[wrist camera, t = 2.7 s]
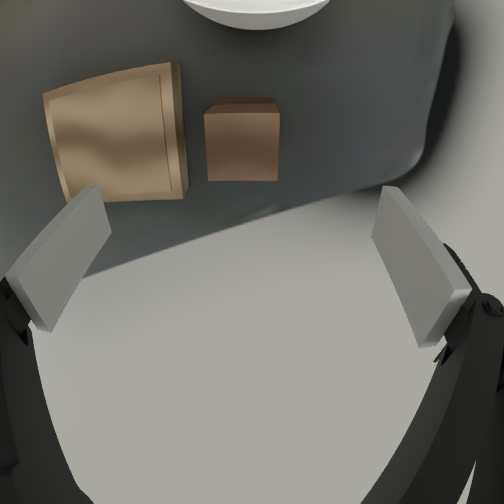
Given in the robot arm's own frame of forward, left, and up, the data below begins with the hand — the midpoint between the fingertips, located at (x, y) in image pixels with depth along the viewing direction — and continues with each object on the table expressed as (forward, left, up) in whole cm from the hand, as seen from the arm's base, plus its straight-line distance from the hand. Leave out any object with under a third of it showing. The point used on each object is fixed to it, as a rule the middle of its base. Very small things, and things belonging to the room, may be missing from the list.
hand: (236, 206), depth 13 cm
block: (0, 0, -16) cm, 16 cm away
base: (0, -13, -16) cm, 21 cm away
